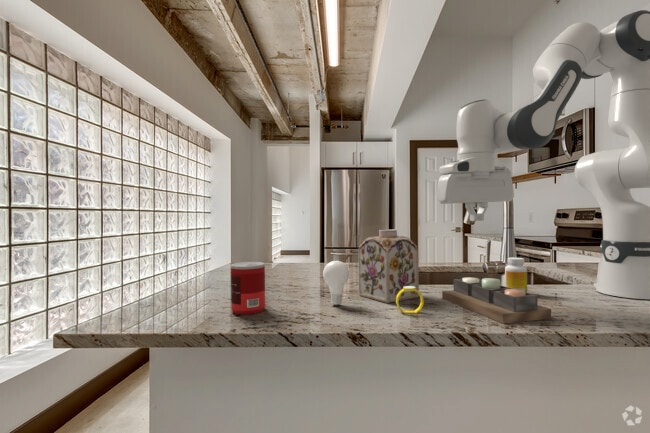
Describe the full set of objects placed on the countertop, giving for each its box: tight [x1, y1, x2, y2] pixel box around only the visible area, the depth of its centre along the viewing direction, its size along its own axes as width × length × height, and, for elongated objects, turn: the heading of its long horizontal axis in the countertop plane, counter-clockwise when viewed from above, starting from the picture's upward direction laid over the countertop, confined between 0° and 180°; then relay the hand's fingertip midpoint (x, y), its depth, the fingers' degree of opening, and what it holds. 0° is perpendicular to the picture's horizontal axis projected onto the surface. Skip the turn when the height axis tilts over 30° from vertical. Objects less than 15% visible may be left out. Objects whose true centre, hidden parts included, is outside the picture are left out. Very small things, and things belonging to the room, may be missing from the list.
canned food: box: [230, 261, 266, 316], centre depth 89 cm, size 8×8×11 cm
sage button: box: [481, 277, 501, 289], centre depth 88 cm, size 4×4×3 cm
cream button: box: [461, 276, 480, 283], centre depth 96 cm, size 4×4×3 cm
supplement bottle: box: [504, 256, 528, 293], centre depth 102 cm, size 5×5×10 cm
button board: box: [441, 278, 552, 325], centre depth 88 cm, size 12×22×5 cm, turn 15°
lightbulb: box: [322, 260, 350, 307], centre depth 92 cm, size 6×6×11 cm
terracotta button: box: [505, 289, 525, 297], centre depth 81 cm, size 4×4×3 cm
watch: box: [395, 286, 425, 315], centre depth 85 cm, size 6×3×6 cm, turn 89°
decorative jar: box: [357, 228, 420, 304], centre depth 101 cm, size 12×12×18 cm
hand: (476, 220), depth 96 cm, fingers closed
